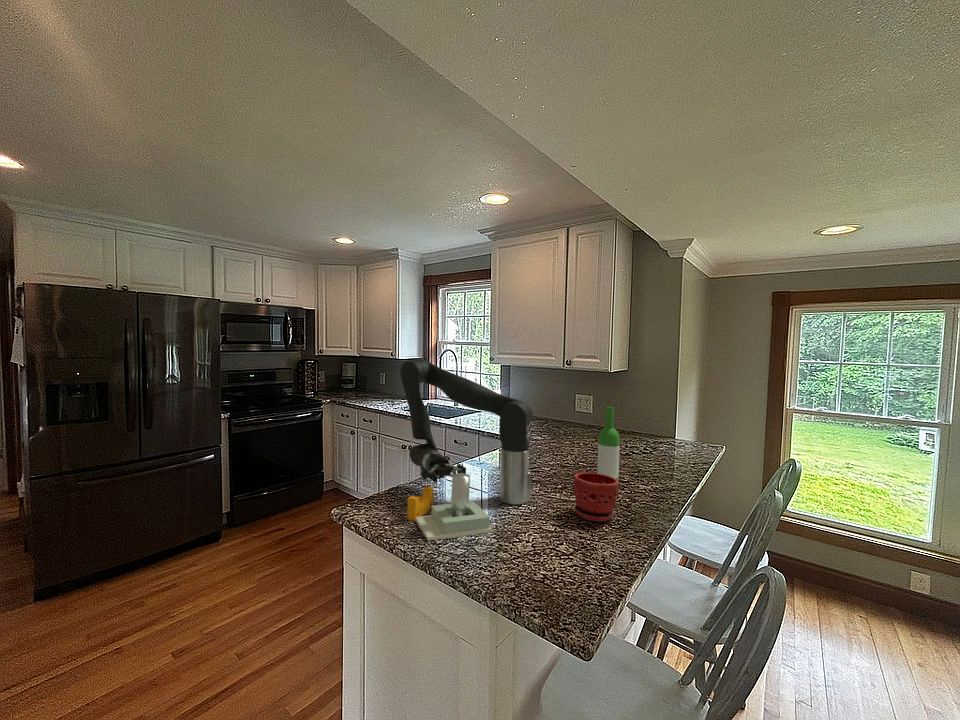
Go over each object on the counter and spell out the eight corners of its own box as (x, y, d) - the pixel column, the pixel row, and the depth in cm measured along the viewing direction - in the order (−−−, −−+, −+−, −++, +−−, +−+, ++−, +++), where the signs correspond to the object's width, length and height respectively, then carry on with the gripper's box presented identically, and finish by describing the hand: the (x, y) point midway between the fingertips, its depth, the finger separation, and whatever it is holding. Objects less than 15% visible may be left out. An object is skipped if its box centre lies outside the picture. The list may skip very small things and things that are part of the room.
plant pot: (605, 528, 116) (606, 487, 116) (565, 515, 125) (566, 476, 125) (624, 516, 126) (625, 477, 125) (585, 505, 134) (586, 468, 134)
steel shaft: (464, 517, 119) (466, 472, 119) (470, 524, 114) (472, 477, 114) (448, 519, 117) (450, 473, 117) (453, 525, 112) (455, 478, 112)
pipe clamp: (420, 505, 130) (421, 485, 130) (432, 507, 129) (433, 487, 129) (401, 519, 119) (402, 497, 119) (415, 521, 118) (415, 499, 118)
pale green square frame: (473, 513, 124) (474, 500, 124) (491, 532, 111) (492, 517, 111) (415, 520, 118) (416, 506, 118) (427, 541, 105) (428, 525, 105)
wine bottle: (603, 480, 163) (606, 405, 163) (621, 484, 157) (624, 407, 157) (593, 483, 158) (595, 406, 158) (611, 488, 152) (614, 408, 152)
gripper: (415, 454, 137) (427, 467, 122) (455, 452, 142) (471, 464, 127) (414, 477, 137) (426, 492, 122) (454, 473, 143) (471, 488, 127)
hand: (449, 478), depth 125 cm, fingers open, 8 cm apart
